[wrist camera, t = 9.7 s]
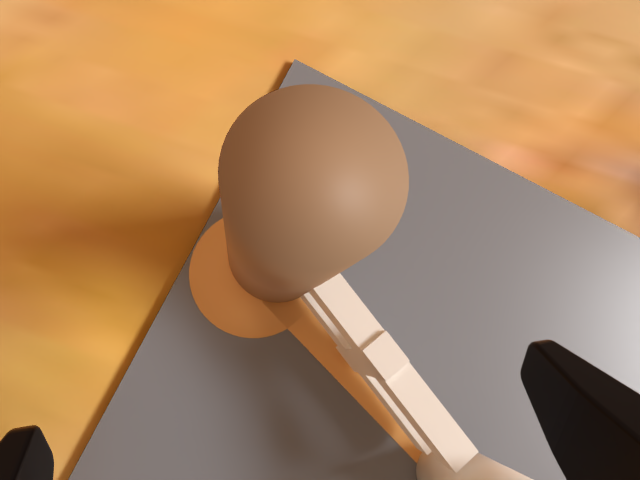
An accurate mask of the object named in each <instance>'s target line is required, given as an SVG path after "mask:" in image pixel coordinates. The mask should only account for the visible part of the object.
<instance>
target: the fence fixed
mask: <svg viewBox="0 0 640 480" xmlns="http://www.w3.org/2000/svg"><path fill="white" fill-rule="evenodd" d="M416 476H417V480H533V479H531V478H529V477H527V476H525V475H523V474H521V473H519V472H517V471H515V470H513V469H511V468H508V467H506V466H504V465H502V464H500V463H498V462H496V461H494V460H492V459H490V458H488V457H486V456H484V455H482V454H480V453H477V454H476V455H475V456H474V457H473V458H472V459H471V460H470V461H469V462H468V463H467V464H465V465H464V466H463V467H462V468H461V469H460V470H459V471H458V472H457V473H455V472H453V471H452V470H450V469H448V468H447V467H445V466H444V465H442V464H441V463H440V461H439V460H438V459H437V457H436V456H435V455H434V454H433V452H431V453H429V454H428V455H426V454H425V453H423V452H422V453H421V455H420V457H419V459H418V462H417V466H416Z"/></svg>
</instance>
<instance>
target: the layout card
mask: <svg viewBox="0 0 640 480" xmlns="http://www.w3.org/2000/svg"><path fill="white" fill-rule="evenodd" d="M301 84H317V85H326V86H331V87H335V88H339V89H341V90H344V91H347V92H349V93H352V94H353V95H355V96H357V97H359V98H361V99H363V100H364V101H366V102H367V103H368V104H370V105H371V106H372V107H374V108H375V109H376V110H377V111H378V112H379V113H380V114H381V115H382V116H383V117H384V118H385V119H386V120H387V121H388V123H389V124H390V126H391V127H392V128H393V130H394V131H395V133H396V135H397V137H398V139H399V140H400V142H401V145H402V147H403V150H404V153H405V156H406V160H407V164H408V173H409V191H408V197H407V202H406V205H405V209H404V212H403V214H402V217H401V219H400V221H399V223H398V225H397V226H396V228H395V230H394V231H393V233H392V234H391V235H390V236H389V238H388V239H387V240H386V241H385V242H384V243H383V244H382V245H381V246H380V247H379V248H378V249H377V250H375V251H374V252H372V253H371V254H370V255H368V256H367V257H365V258H364V259H362V260H360V261H359V262H357V263H355V264H354V265H352V266H350V267H349V268H347V269H346V270H344V271H342V272H341V273H340V274H341V275H342V276H343V278H344V279H345V280H346V281H347V283H348V284H349V285H350V287H351V288H352V289H353V290H354V292H355V293H356V294H357V296H358V297H359V298H360V299H361V301H362V302H363V303H364V305H365V306H366V307H367V308H368V310H369V311H370V312H371V314H372V315H373V316H374V317H375V319H376V320H377V321H378V323H379V324H380V325H381V326H382V328H383V329H384V330H385V331H387V332H388V333H389V334H390V336H391V337H392V338H393V340H394V341H395V342H396V343H397V345H398V346H399V347H400V349H401V350H402V351H403V352H404V354H405V355H406V356H407V358H408V359H409V360H410V361H409V362H410V364H411V365H412V366H413V368H414V369H415V370H416V371H417V373H418V374H419V375H420V377H421V378H422V379H423V380H424V382H425V383H426V384H427V386H428V387H429V388H430V389H431V391H432V392H433V393H434V395H435V396H436V397H437V398H438V400H439V401H440V402H441V404H442V405H443V406H444V407H445V409H446V410H447V411H448V413H449V414H450V415H451V416H452V418H453V419H454V420H455V422H456V423H457V424H458V425H459V427H460V428H461V429H462V431H463V432H464V433H465V434H466V436H467V437H468V438H469V440H470V441H471V442H472V443H473V445H474V446H475V447H476V449H477V450H478V451H479V452H478V453H480V454H482V455H484V456H486V457H488V458H490V459H492V460H494V461H496V462H498V463H500V464H502V465H504V466H506V467H508V468H511V469H513V470H515V471H517V472H519V473H521V474H523V475H525V476H527V477H529V478H531V479H533V480H566V478H565V476H564V474H563V472H562V470H561V469H560V467H559V465H558V463H557V461H556V459H555V457H554V455H553V453H552V451H551V449H550V447H549V445H548V442H547V440H546V438H545V435H544V433H543V431H542V428H541V426H540V424H539V421H538V419H537V416H536V414H535V412H534V409H533V407H532V405H531V402H530V400H529V398H528V395H527V393H526V390H525V388H524V386H523V383H522V380H521V375H520V371H521V366H522V363H523V360H524V357H525V354H526V351H527V347H528V345H529V344H530V343H531V342H534V341H540V340H547V339H549V340H553V341H555V342H557V343H558V344H560V345H562V346H563V347H565V348H566V349H568V350H570V351H571V352H573V353H574V354H576V355H578V356H579V357H581V358H583V359H584V360H586V361H587V362H589V363H591V364H592V365H594V366H595V367H597V368H599V369H600V370H602V371H604V372H605V373H607V374H608V375H610V376H612V377H613V378H615V379H616V380H618V381H620V382H621V383H623V384H625V385H626V386H628V387H629V388H631V389H633V390H634V391H636V392H637V393H639V394H640V238H639V237H637V236H635V235H634V234H632V233H630V232H628V231H626V230H624V229H622V228H620V227H618V226H616V225H614V224H612V223H610V222H608V221H606V220H605V219H603V218H601V217H599V216H597V215H595V214H593V213H591V212H589V211H587V210H585V209H583V208H581V207H579V206H577V205H576V204H574V203H572V202H570V201H568V200H566V199H564V198H562V197H560V196H558V195H556V194H554V193H552V192H550V191H548V190H547V189H545V188H543V187H541V186H539V185H537V184H535V183H533V182H531V181H529V180H527V179H525V178H523V177H521V176H520V175H518V174H516V173H514V172H512V171H510V170H508V169H506V168H504V167H502V166H500V165H498V164H496V163H494V162H492V161H491V160H489V159H487V158H485V157H483V156H481V155H479V154H477V153H475V152H473V151H471V150H469V149H467V148H465V147H463V146H462V145H460V144H458V143H456V142H454V141H452V140H450V139H448V138H446V137H444V136H442V135H440V134H438V133H436V132H435V131H433V130H431V129H429V128H427V127H425V126H423V125H421V124H419V123H417V122H415V121H413V120H411V119H409V118H407V117H406V116H404V115H402V114H400V113H398V112H396V111H394V110H392V109H390V108H388V107H386V106H384V105H382V104H380V103H378V102H377V101H375V100H373V99H371V98H369V97H367V96H365V95H363V94H361V93H359V92H357V91H355V90H353V89H351V88H349V87H348V86H346V85H344V84H342V83H340V82H338V81H336V80H334V79H332V78H330V77H328V76H326V75H324V74H322V73H321V72H319V71H317V70H315V69H313V68H311V67H309V66H307V65H305V64H303V63H301V62H299V61H297V60H294V62H293V64H292V65H291V67H290V69H289V71H288V73H287V75H286V77H285V78H284V80H283V82H282V84H281V86H280V88H279V89H281V88H285V87H288V86H294V85H301ZM336 346H337V344H336V343H335V342H334V341H333V339H332V338H331V337H330V335H329V334H328V333H327V332H326V330H325V329H324V328H323V326H322V325H321V324H320V322H319V321H318V320H317V319H316V317H315V316H314V315H313V313H312V312H311V311H310V309H309V308H308V307H307V306H306V304H305V303H304V302H303V300H302V299H301V298H300V297H299V298H297V299H295V300H292V301H288V302H280V303H275V302H267V301H263V300H260V299H258V298H256V297H254V296H252V295H251V294H249V293H248V292H246V291H245V290H244V289H243V288H242V287H241V286H240V285H239V284H238V282H237V281H236V279H235V278H234V276H233V274H232V271H231V268H230V265H229V260H228V252H227V244H226V237H225V229H224V221H223V213H222V206H221V198H220V199H219V201H218V203H217V205H216V206H215V208H214V210H213V212H212V214H211V216H210V218H209V219H208V221H207V223H206V225H205V227H204V229H203V231H202V232H201V234H200V236H199V238H198V240H197V242H196V244H195V245H194V247H193V249H192V251H191V253H190V255H189V257H188V258H187V260H186V262H185V264H184V266H183V268H182V270H181V271H180V273H179V275H178V277H177V279H176V281H175V282H174V284H173V286H172V288H171V290H170V292H169V294H168V295H167V297H166V299H165V301H164V303H163V305H162V307H161V308H160V310H159V312H158V314H157V316H156V318H155V320H154V321H153V323H152V325H151V327H150V329H149V331H148V333H147V334H146V336H145V338H144V340H143V342H142V344H141V346H140V347H139V349H138V351H137V353H136V355H135V357H134V359H133V360H132V362H131V364H130V366H129V368H128V370H127V372H126V373H125V375H124V377H123V379H122V381H121V383H120V385H119V386H118V388H117V390H116V392H115V394H114V396H113V398H112V399H111V401H110V403H109V405H108V407H107V409H106V411H105V412H104V414H103V416H102V418H101V420H100V422H99V424H98V425H97V427H96V429H95V431H94V433H93V435H92V437H91V438H90V440H89V442H88V444H87V446H86V448H85V449H84V451H83V453H82V455H81V457H80V459H79V461H78V462H77V464H76V466H75V468H74V470H73V472H72V474H71V475H70V477H69V479H68V480H417V476H416V466H417V462H418V459H419V457H420V455H421V453H422V452H421V451H420V450H418V449H417V448H416V447H415V446H414V444H413V443H412V442H411V440H410V439H409V438H408V437H407V435H406V434H405V433H404V431H403V430H402V429H401V427H400V426H399V425H398V424H397V422H396V421H395V420H394V418H393V417H392V416H391V414H390V413H389V412H388V411H387V409H386V408H385V407H384V405H383V404H382V403H381V402H380V400H379V399H378V398H377V396H376V395H375V394H374V392H373V391H372V390H371V389H370V387H369V386H368V385H367V383H366V382H365V381H364V379H363V378H362V377H361V376H360V374H359V373H357V372H354V371H353V370H352V368H351V367H350V366H349V364H348V363H347V362H346V360H345V359H344V358H343V357H342V355H341V354H340V353H339V351H338V350H337V349H336Z"/></svg>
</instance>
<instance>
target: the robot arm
mask: <svg viewBox="0 0 640 480" xmlns="http://www.w3.org/2000/svg"><path fill="white" fill-rule="evenodd" d="M520 375H521V380H522V383H523V386H524V388H525V390H526V393H527V395H528V398H529V400H530V402H531V405H532V407H533V409H534V412H535V414H536V416H537V419H538V421H539V424H540V426H541V428H542V431H543V433H544V435H545V438H546V440H547V442H548V445H549V447H550V449H551V451H552V453H553V455H554V457H555V459H556V461H557V463H558V465H559V467H560V469H561V470H562V472H563V474H564V476H565V478H566V480H640V394H639V393H637V392H636V391H634V390H633V389H631V388H629V387H628V386H626V385H625V384H623V383H621V382H620V381H618V380H616V379H615V378H613V377H612V376H610V375H608V374H607V373H605V372H604V371H602V370H600V369H599V368H597V367H595V366H594V365H592V364H591V363H589V362H587V361H586V360H584V359H583V358H581V357H579V356H578V355H576V354H574V353H573V352H571V351H570V350H568V349H566V348H565V347H563V346H562V345H560V344H558V343H557V342H555V341H553V340H549V339H547V340H540V341H534V342H531V343H530V344H529V345H528V347H527V351H526V354H525V357H524V360H523V363H522V366H521V371H520ZM53 471H54V459H53V454H52V451H51V449H50V447H49V445H48V443H47V441H46V439H45V437H44V435H43V433H42V431H41V429H40V428H39V427H38V426H36V425H32V426H26V427H20V428H15V429H12V430H10V431H9V432H8V433H7V434H6V435H5V436H4V437H3V439H2V440H1V441H0V480H53Z"/></svg>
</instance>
